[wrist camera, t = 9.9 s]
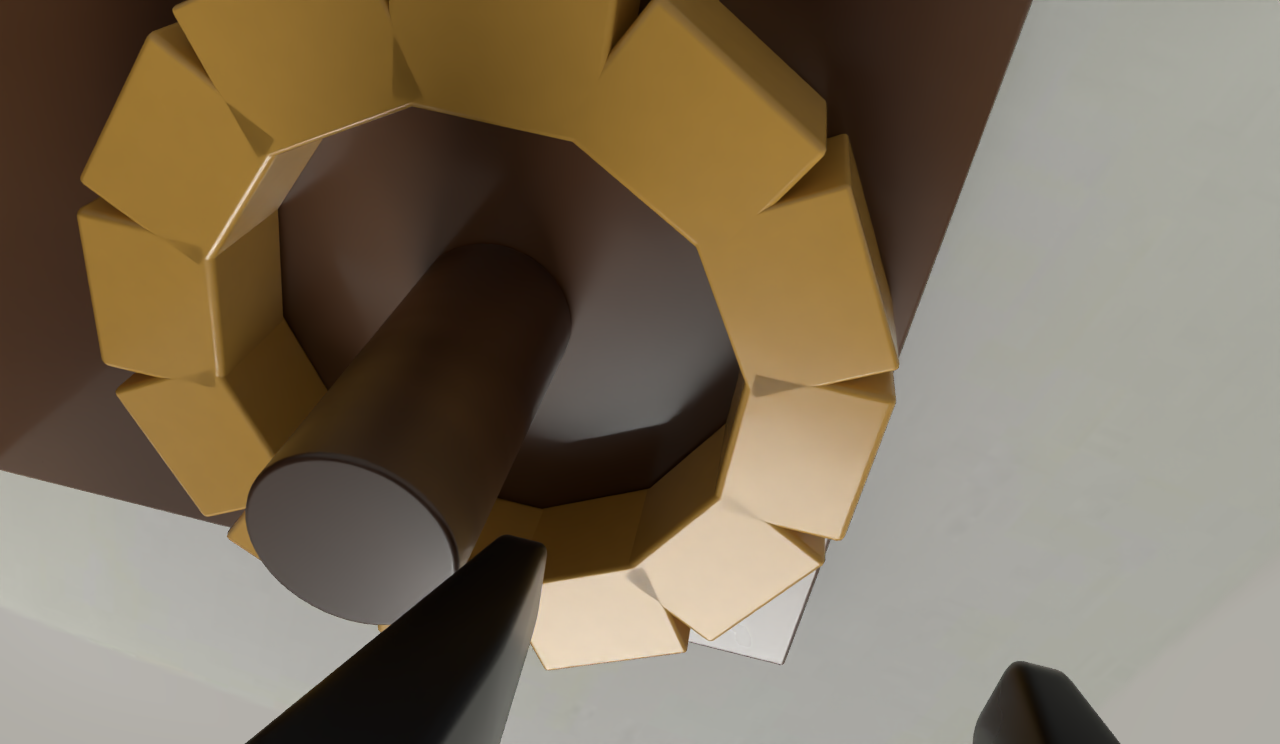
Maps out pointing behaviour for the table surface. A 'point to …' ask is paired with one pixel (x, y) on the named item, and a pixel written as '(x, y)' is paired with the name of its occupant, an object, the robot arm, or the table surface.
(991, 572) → the table surface
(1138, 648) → the table surface
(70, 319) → the stand
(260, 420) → the brass ring
